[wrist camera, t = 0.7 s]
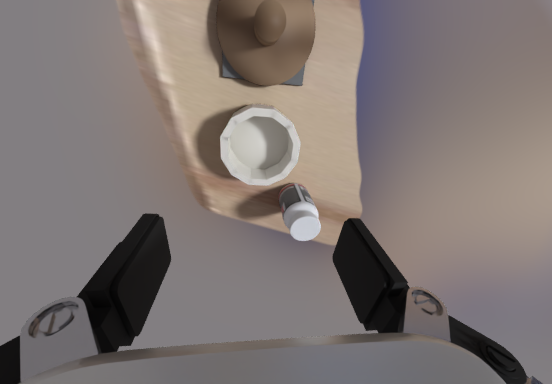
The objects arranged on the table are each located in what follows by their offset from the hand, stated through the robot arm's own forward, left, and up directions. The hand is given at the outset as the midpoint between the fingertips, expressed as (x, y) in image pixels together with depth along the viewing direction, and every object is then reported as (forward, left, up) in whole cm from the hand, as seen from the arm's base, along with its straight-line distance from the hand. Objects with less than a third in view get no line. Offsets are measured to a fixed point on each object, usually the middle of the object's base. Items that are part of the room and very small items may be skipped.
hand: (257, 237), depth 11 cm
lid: (-12, +1, -24) cm, 27 cm away
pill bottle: (+12, +8, -25) cm, 29 cm away
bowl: (+2, +1, -25) cm, 25 cm away
